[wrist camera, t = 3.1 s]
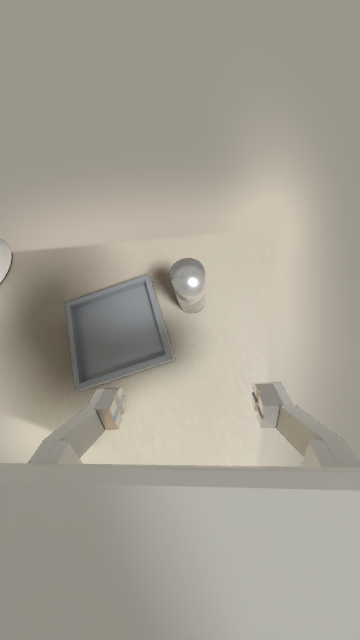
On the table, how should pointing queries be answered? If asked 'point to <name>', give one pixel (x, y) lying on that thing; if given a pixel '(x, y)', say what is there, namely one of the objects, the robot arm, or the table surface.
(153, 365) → the parts tray
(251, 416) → the table surface
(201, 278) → the glossy grey cylinder
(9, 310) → the table surface
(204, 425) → the table surface
